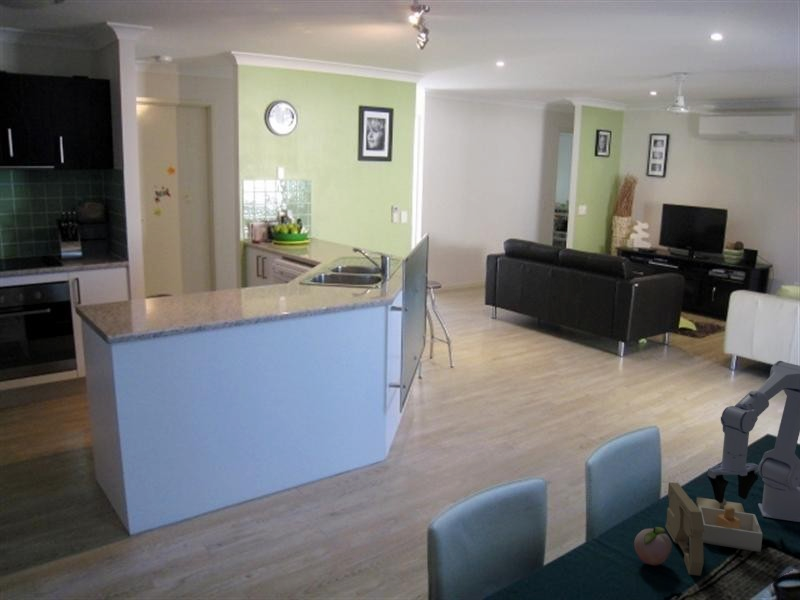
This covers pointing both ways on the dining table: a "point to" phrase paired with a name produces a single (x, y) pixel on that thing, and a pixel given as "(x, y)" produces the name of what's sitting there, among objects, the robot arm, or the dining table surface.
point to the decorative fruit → (653, 545)
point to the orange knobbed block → (728, 519)
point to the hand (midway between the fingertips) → (730, 499)
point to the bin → (731, 530)
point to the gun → (685, 527)
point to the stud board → (718, 504)
